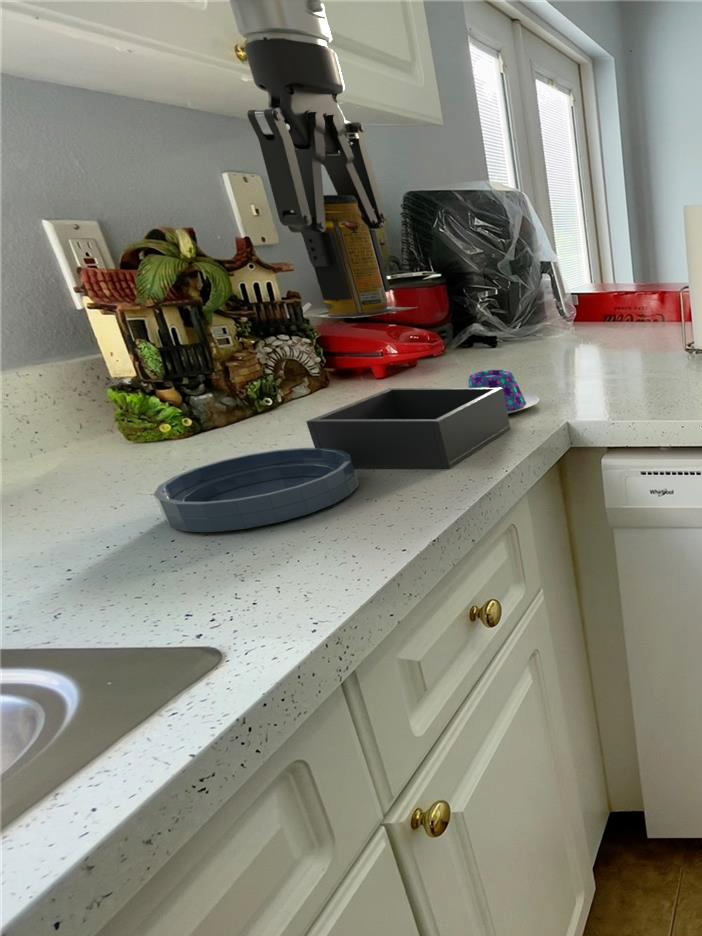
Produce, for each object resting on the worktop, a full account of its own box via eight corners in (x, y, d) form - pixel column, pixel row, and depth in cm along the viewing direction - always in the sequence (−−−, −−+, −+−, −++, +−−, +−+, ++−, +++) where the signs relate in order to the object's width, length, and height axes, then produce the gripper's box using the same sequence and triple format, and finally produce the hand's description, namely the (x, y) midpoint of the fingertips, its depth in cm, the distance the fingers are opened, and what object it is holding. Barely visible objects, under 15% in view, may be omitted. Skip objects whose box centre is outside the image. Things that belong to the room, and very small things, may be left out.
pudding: (546, 412, 102) (539, 376, 100) (455, 424, 97) (447, 387, 95) (533, 394, 112) (527, 361, 110) (450, 405, 107) (442, 370, 105)
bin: (321, 468, 82) (305, 421, 80) (400, 429, 96) (389, 388, 94) (449, 468, 81) (438, 421, 78) (510, 429, 95) (502, 387, 93)
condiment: (310, 317, 78) (273, 196, 73) (379, 307, 84) (350, 196, 79) (354, 320, 75) (319, 194, 70) (422, 309, 82) (395, 194, 77)
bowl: (122, 534, 66) (107, 503, 65) (256, 474, 81) (246, 447, 79) (285, 537, 65) (273, 504, 63) (391, 475, 79) (383, 447, 78)
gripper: (248, 19, 59) (331, 306, 69) (386, 60, 77) (437, 285, 86) (165, 23, 60) (260, 307, 70) (321, 63, 77) (379, 286, 87)
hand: (358, 295), depth 78 cm, fingers closed on condiment, 6 cm apart
